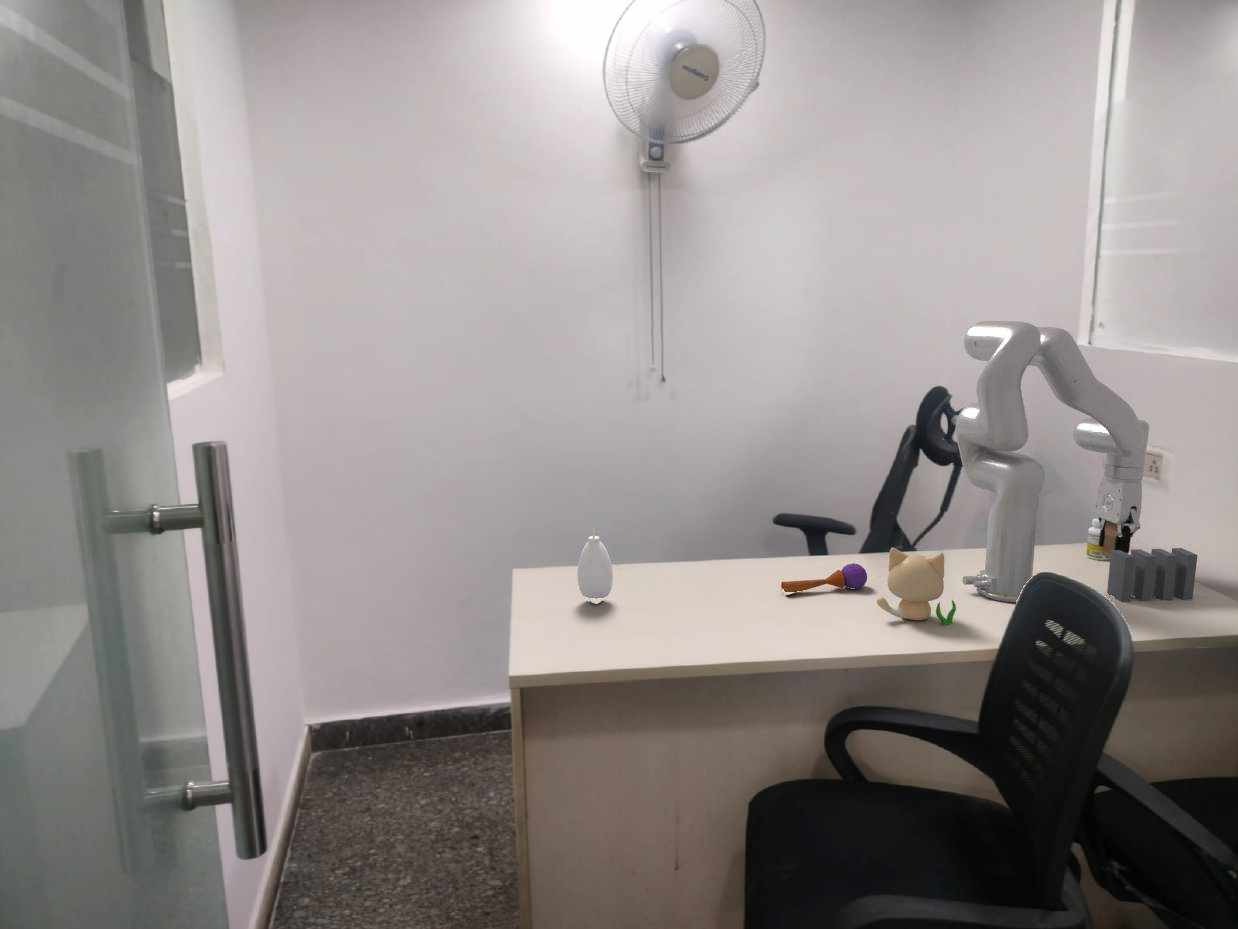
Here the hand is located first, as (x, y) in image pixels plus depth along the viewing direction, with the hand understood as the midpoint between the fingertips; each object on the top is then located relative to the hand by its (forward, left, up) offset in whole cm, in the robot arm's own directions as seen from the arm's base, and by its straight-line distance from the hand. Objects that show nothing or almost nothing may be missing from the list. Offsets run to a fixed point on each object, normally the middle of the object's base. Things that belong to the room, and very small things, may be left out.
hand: (1113, 549), depth 190 cm
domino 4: (+2, -14, -7) cm, 15 cm away
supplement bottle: (+5, +13, -7) cm, 16 cm away
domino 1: (0, 0, -2) cm, 2 cm away
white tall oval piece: (-120, -5, -7) cm, 121 cm away
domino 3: (-2, -14, -7) cm, 15 cm away
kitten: (-54, -21, -7) cm, 58 cm away
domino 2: (-7, -14, -7) cm, 17 cm away
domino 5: (+7, -14, -7) cm, 17 cm away
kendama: (-68, -3, -7) cm, 69 cm away
